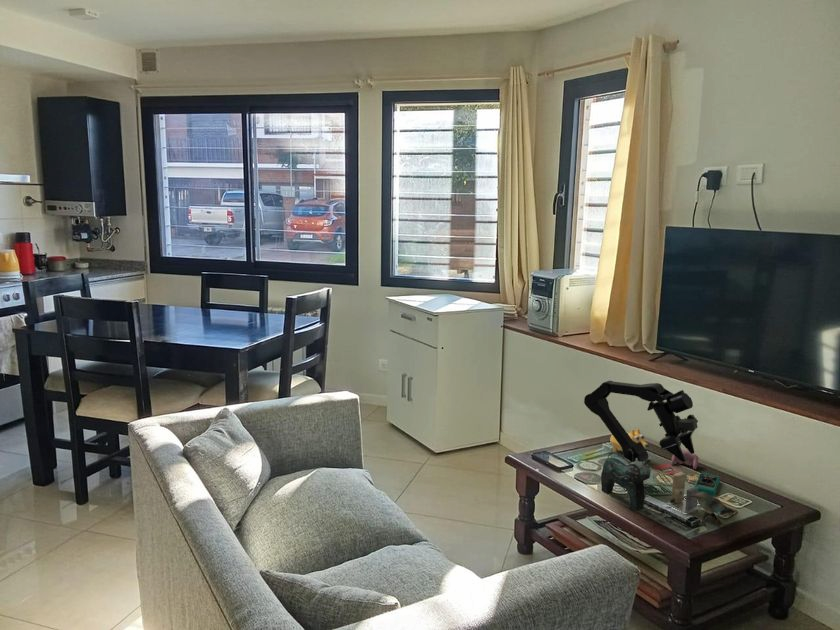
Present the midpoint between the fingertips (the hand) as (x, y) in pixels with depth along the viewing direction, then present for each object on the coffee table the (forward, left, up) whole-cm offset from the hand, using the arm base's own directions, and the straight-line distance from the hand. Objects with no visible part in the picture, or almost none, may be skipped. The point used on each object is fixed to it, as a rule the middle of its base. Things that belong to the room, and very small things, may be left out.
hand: (688, 457), depth 227 cm
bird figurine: (+13, -8, -16) cm, 22 cm away
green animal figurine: (-15, -18, -16) cm, 28 cm away
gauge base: (+2, -7, -16) cm, 17 cm away
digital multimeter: (0, +16, -17) cm, 23 cm away
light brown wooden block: (0, -7, -14) cm, 16 cm away
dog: (-34, +20, -16) cm, 43 cm away
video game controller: (-14, +29, -16) cm, 36 cm away
